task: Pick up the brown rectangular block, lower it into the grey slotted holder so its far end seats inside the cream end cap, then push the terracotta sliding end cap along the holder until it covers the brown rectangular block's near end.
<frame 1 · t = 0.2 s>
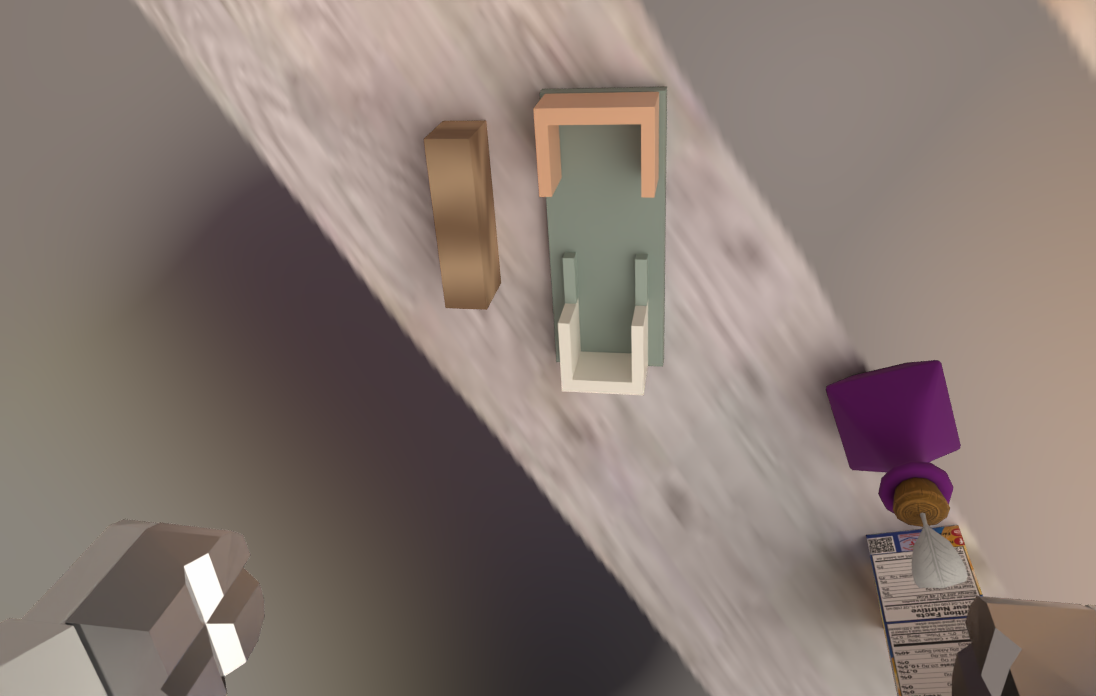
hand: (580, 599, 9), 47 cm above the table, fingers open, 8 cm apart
cap b: (598, 144, 52), point 3 cm above the table, slide at 0.0 cm
grey slotted holder: (607, 234, 58), on the table
beverage box: (918, 577, 69), on the table
brown rectangular block: (474, 204, 59), on the table
perfume bottle: (885, 390, 61), on the table
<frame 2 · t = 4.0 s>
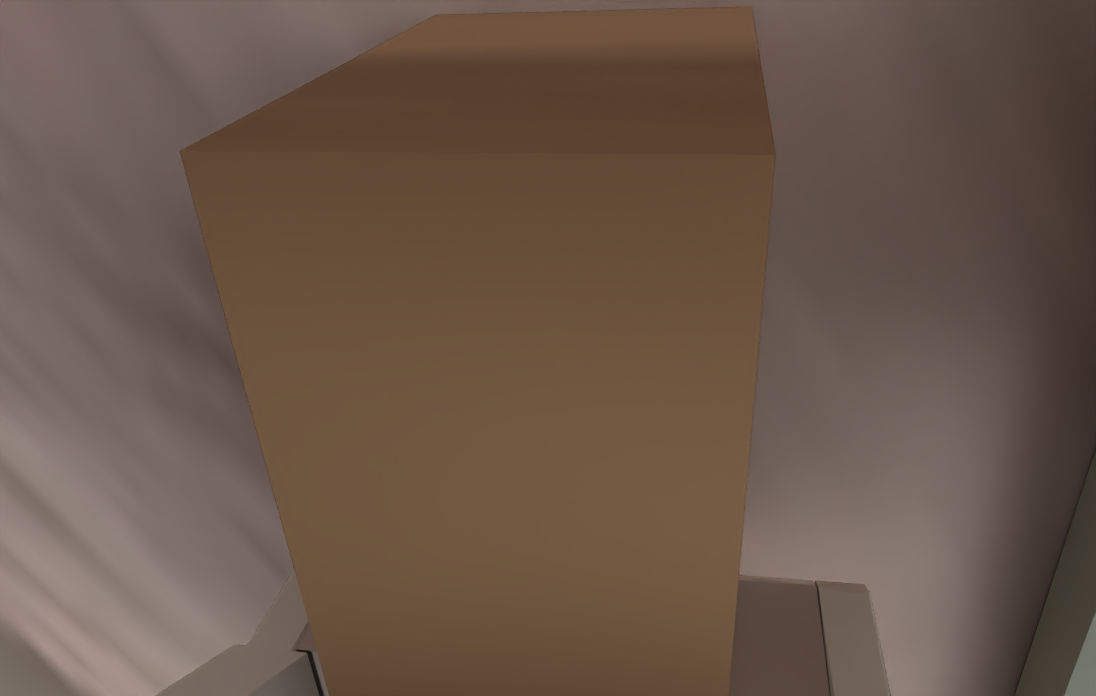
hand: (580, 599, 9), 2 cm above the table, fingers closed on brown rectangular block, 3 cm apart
brown rectangular block: (600, 502, 11), on the table, touching gripper
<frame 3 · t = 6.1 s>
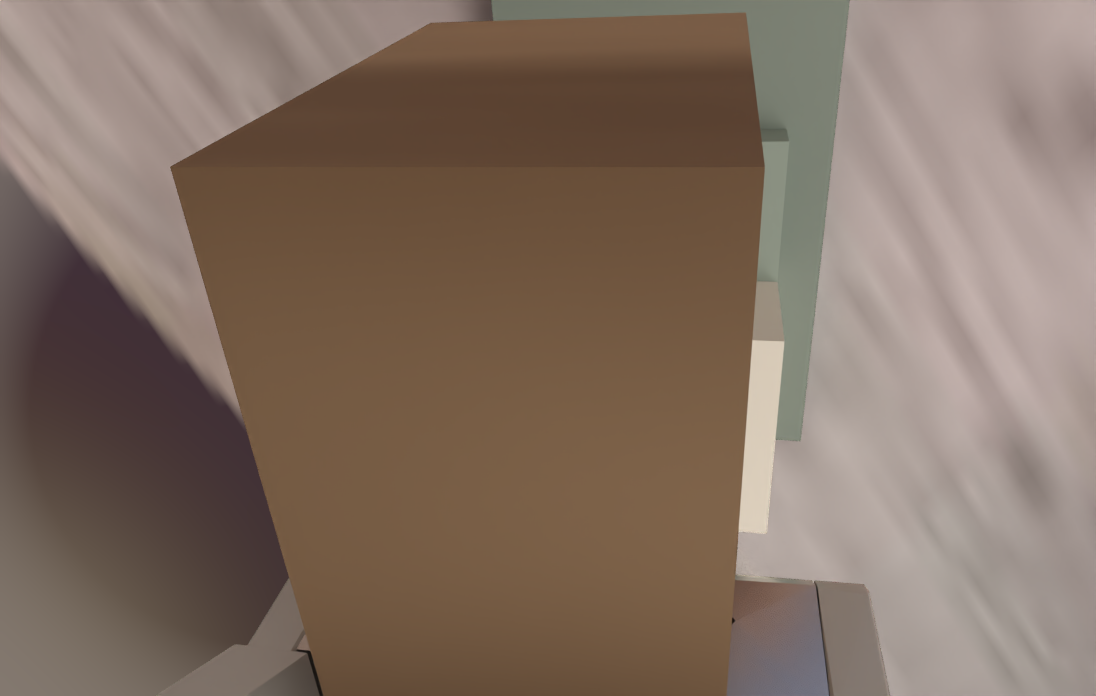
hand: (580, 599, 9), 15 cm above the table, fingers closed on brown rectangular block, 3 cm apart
grey slotted holder: (665, 78, 21), on the table
brown rectangular block: (600, 508, 11), point 13 cm above the table, touching gripper
when the fingers open (3 cm above the table, at t = 8.0 s): brown rectangular block stays where it is, resting on grey slotted holder.
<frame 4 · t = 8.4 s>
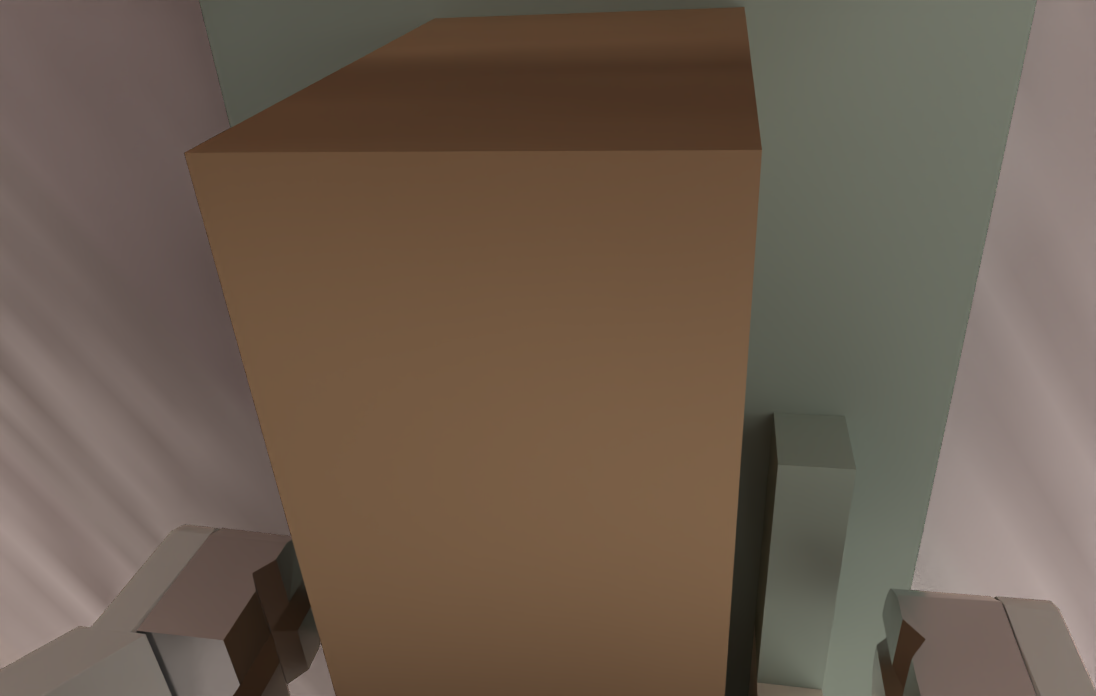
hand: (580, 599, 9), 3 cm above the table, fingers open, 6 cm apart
grey slotted holder: (604, 293, 11), on the table
brown rectangular block: (601, 499, 11), point 1 cm above the table, touching grey slotted holder
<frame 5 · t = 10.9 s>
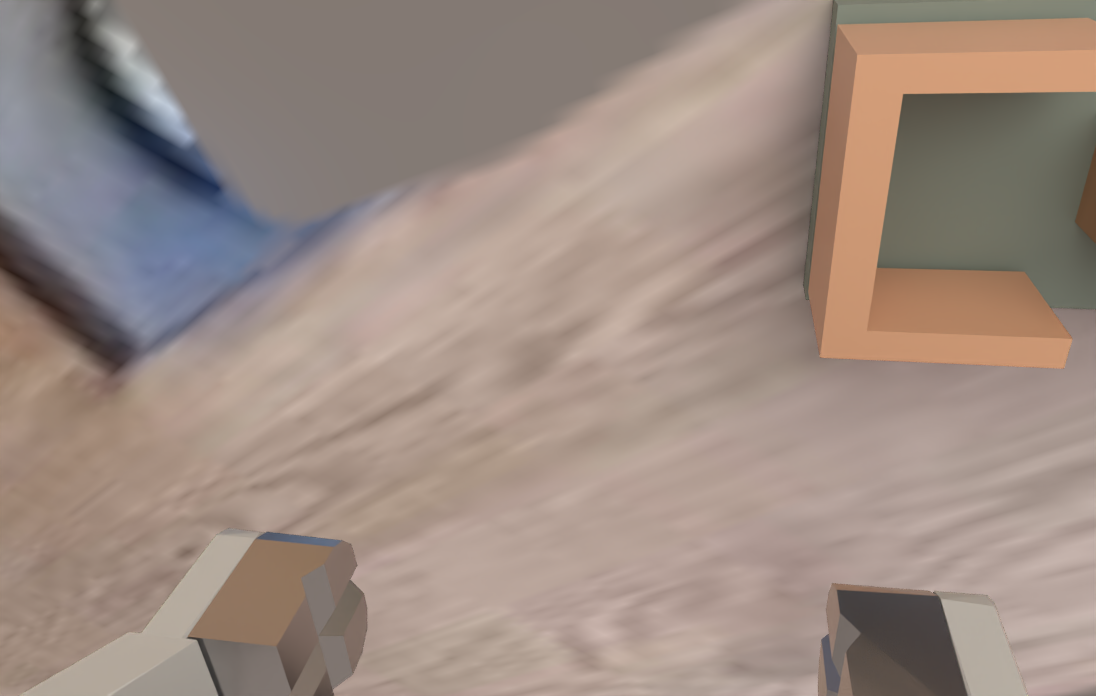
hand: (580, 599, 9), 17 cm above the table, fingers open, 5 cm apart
cap b: (949, 193, 20), point 3 cm above the table, slide at 0.0 cm
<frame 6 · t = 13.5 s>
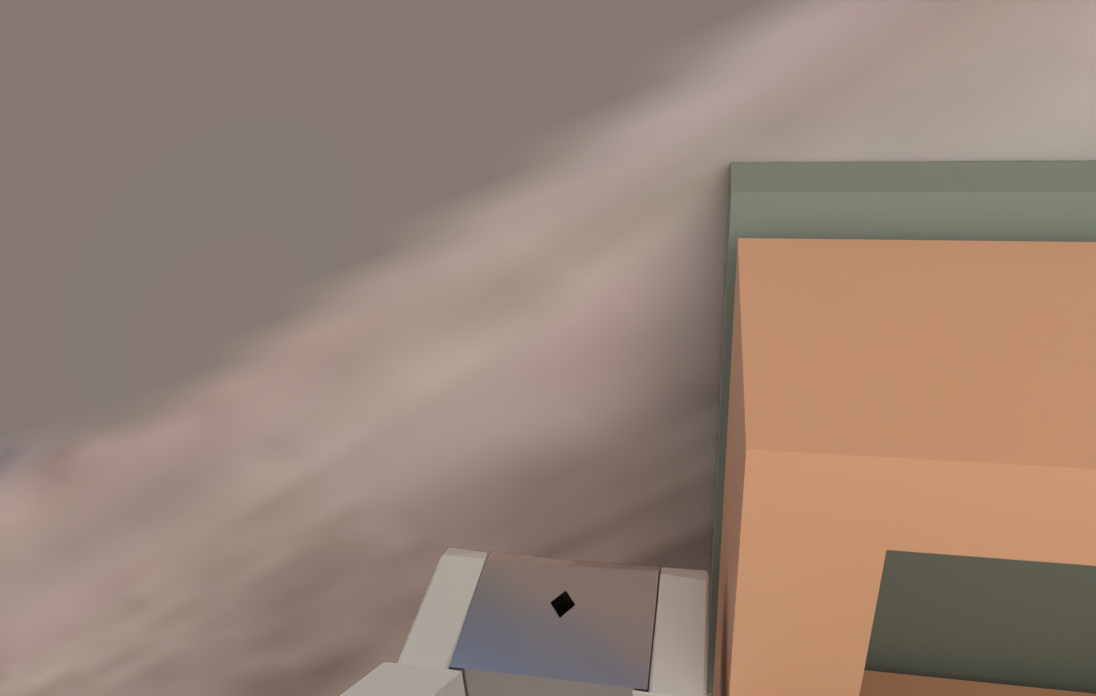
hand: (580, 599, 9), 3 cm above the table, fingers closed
cap b: (999, 641, 8), point 3 cm above the table, slide at 0.1 cm, touching gripper
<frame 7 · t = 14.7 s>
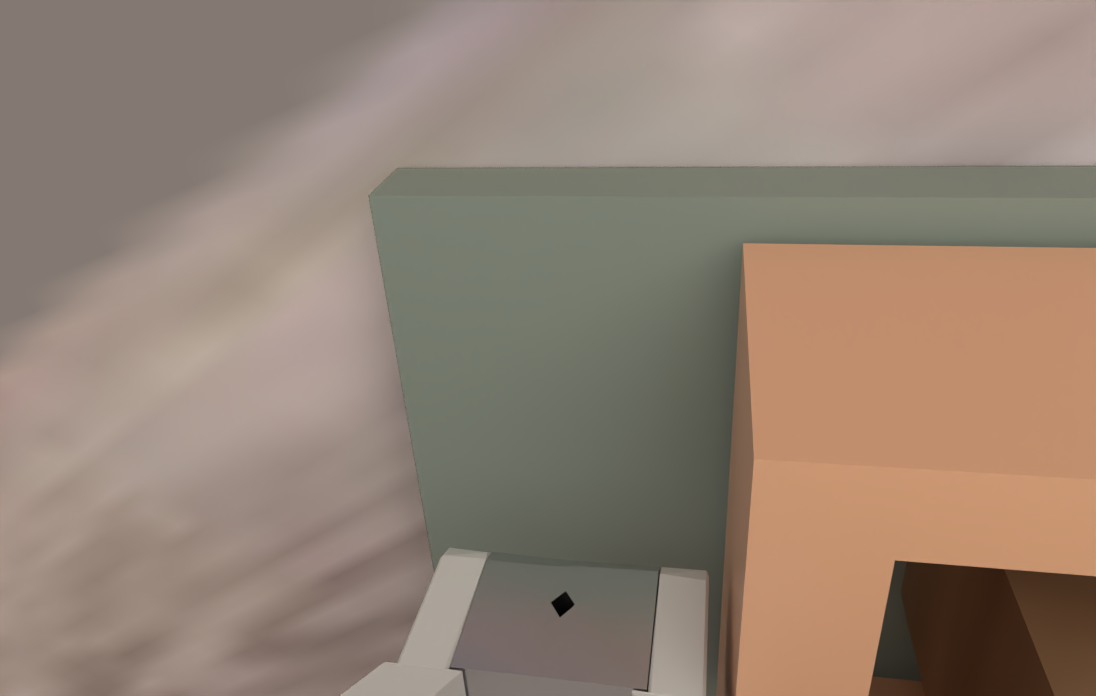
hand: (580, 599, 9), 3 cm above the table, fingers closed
cap b: (1006, 649, 8), point 3 cm above the table, slide at 4.2 cm, touching gripper
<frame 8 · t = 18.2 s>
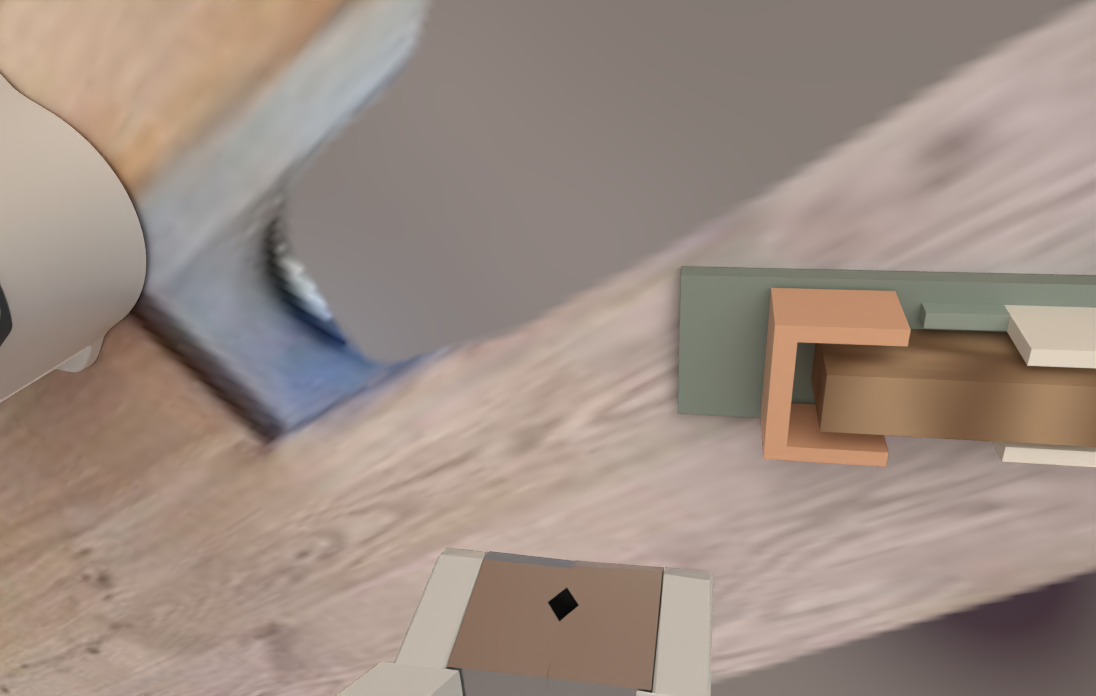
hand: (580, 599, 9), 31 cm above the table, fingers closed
cap b: (828, 376, 39), point 3 cm above the table, slide at 4.2 cm
grey slotted holder: (886, 345, 41), on the table
brown rectangular block: (945, 357, 40), point 1 cm above the table, touching grey slotted holder
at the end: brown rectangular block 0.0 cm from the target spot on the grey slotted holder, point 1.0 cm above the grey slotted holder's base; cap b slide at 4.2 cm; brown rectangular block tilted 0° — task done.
